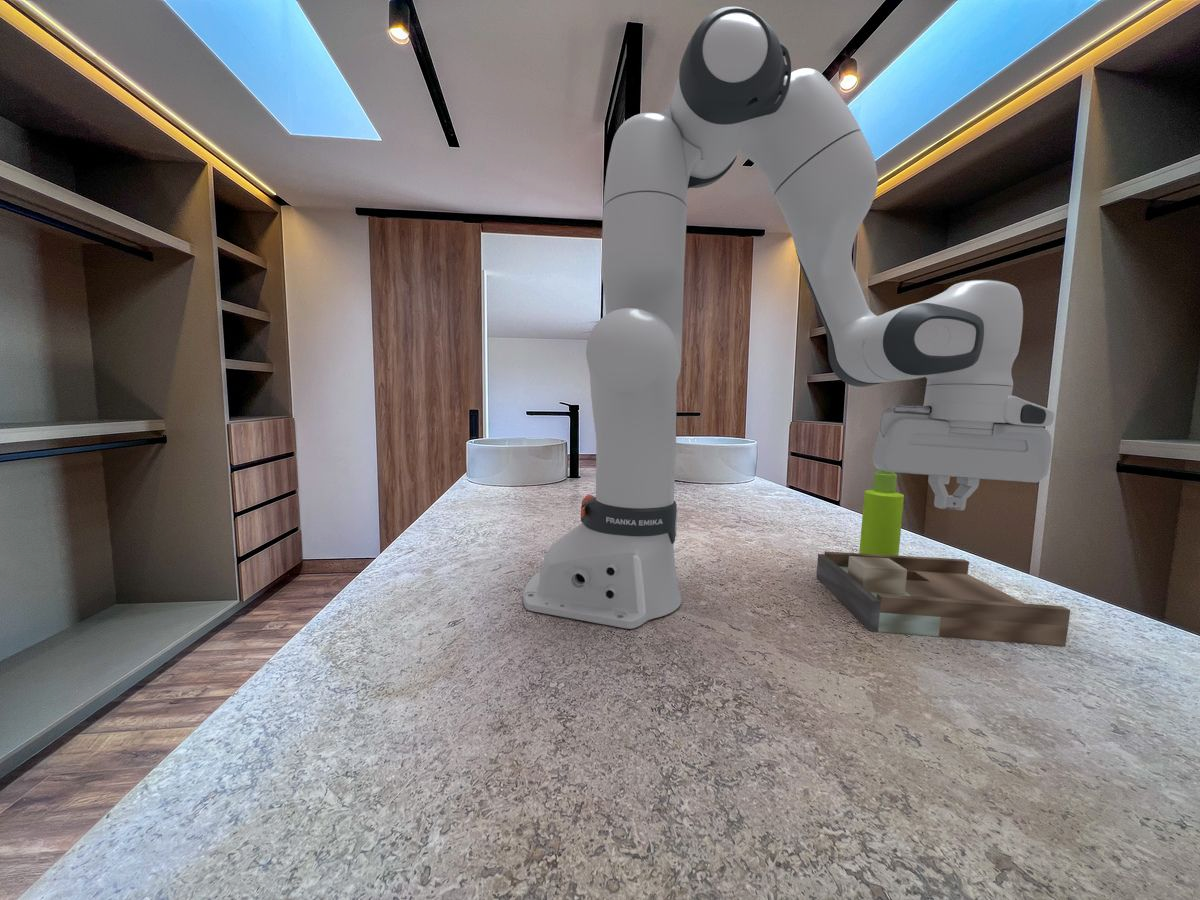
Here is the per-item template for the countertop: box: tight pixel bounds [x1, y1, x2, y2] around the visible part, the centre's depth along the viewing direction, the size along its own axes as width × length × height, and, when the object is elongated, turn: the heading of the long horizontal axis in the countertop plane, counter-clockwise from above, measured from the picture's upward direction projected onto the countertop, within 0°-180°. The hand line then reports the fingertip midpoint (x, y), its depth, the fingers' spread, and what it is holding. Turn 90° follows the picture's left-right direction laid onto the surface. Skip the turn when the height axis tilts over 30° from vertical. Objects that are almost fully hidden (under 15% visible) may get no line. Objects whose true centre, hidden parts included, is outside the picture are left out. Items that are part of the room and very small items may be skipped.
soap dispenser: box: [858, 470, 905, 556], centre depth 76 cm, size 6×7×20 cm
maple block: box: [848, 556, 907, 594], centre depth 60 cm, size 6×4×4 cm
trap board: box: [815, 551, 1071, 647], centre depth 60 cm, size 22×17×4 cm
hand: (948, 508), depth 59 cm, fingers closed
